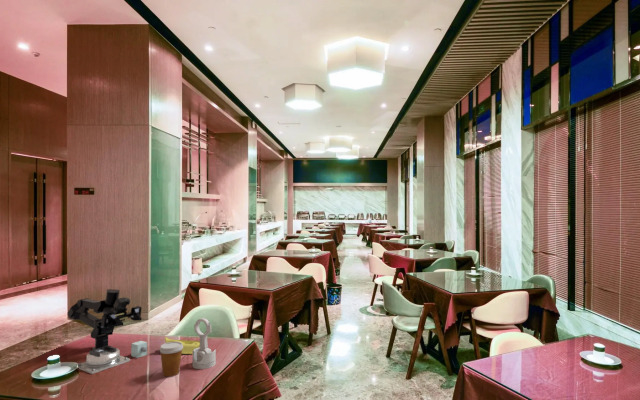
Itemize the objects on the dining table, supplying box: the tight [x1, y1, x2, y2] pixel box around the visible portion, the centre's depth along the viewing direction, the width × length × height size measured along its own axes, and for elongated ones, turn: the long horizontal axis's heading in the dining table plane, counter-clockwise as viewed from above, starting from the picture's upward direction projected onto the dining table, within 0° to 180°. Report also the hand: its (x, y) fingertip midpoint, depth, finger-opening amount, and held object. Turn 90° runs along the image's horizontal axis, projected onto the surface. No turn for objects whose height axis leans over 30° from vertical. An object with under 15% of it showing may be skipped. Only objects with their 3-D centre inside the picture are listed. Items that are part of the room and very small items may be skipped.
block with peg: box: [130, 340, 148, 359], centre depth 177 cm, size 7×5×6 cm
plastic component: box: [164, 336, 200, 355], centre depth 184 cm, size 20×7×10 cm
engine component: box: [191, 317, 217, 370], centre depth 166 cm, size 11×20×10 cm
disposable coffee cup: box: [158, 342, 183, 377], centre depth 156 cm, size 10×10×12 cm
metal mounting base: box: [77, 344, 131, 375], centre depth 167 cm, size 14×17×6 cm
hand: (132, 321), depth 176 cm, fingers open, 9 cm apart
